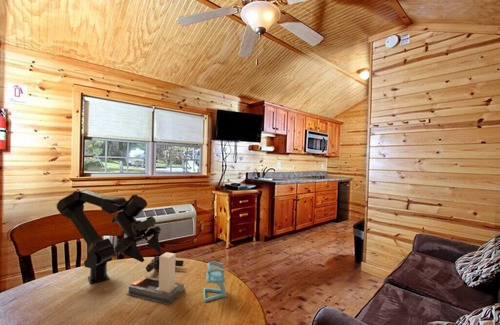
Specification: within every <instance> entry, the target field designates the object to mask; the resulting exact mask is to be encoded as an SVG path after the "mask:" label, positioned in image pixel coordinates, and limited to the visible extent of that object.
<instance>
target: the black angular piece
mask: <svg viewBox="0 0 500 325" xmlns="http://www.w3.org/2000/svg"><path fill="white" fill-rule="evenodd" d="M167 252H168V253H171V252H170V251H167ZM175 267H184V260H176V259H175ZM155 268H159V255H154V256H153V259H151V262H149V263H148V264H147V265H146V267H145V270H146V272H147V273H150V272H152V271H153V270H154V269H155Z"/></svg>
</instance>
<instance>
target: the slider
mask: <svg viewBox="0 0 500 325" xmlns="http://www.w3.org/2000/svg"><path fill="white" fill-rule="evenodd" d="M168 252H169V251H167V252H164V253H162V254H161V255H160V256H159V255H158V256H159V267H158V279H159V287H158V288H157V289H155V290H156V291H160V292H164V293H169V294H170V293H171V292H172V291H173V290H174V289H176V288H177V287H178V285H175V283H176V266H175V260H176V255H177V254H176V253H173V252H170V253H168Z"/></svg>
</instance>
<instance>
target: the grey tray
mask: <svg viewBox="0 0 500 325" xmlns="http://www.w3.org/2000/svg"><path fill="white" fill-rule="evenodd" d="M175 285H178V287H177V288H176V289H174V290H173V291H172V292H171V293H170V294H169V293H164V292H160V291H156V290H155V289H157V288H158V287H159V278H156V277H152V276H147V275H144V276H141V277H140V278H138V279H137V280H135V281H133V282H132V283H131V284H130V285H129V286H128V291H127V292H126V295H128V296H132V297H136V298H140V299H143V300H147V301H151V302H155V303H159V304H164V305H166V306H167V305H168V306H169V305H170V304H172V302H174V301H175V300H176V299H177V298H178V297H179V296H180V295H181V294H182V293H183V292H185V290H186V288H185V284H184V283H178V282H175Z"/></svg>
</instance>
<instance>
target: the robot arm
mask: <svg viewBox="0 0 500 325" xmlns="http://www.w3.org/2000/svg"><path fill="white" fill-rule="evenodd" d="M86 203H88V204H90V205H94V206H97V207H99V208H100V209H101V211H103V212H105V213H106V214H108V215H113V214H114V215H113V216H112V220H111V224H115V223H117V224H118V225H119V227H120V228H121V229H122V231H121V234H122V235H126V237H124V238H121V239H120V241H119V242H118V243H117V244H116V245H114V244H113V243H112V241H111V240H110V239H109V238H108V237H107V238H105V239H103V238H102V237H101V236H100V235H99V233H98V232H97V230H96V229H95V227H94V226H93V224H92V223H91V221H90V220H89V219H88V217H87V216H86V214H85V212H84V208H85V205H84V204H86ZM147 206H148V202H147V200H146V199H145V198H144V197H141V196H138V194H132V195H131V196H130V198H128V200H126V198H125V197H123V196H107V195H104V194H100V193H97V192H94V191H91V190H89V189H85V188H84V189H77V190H75V191H73V192H72V193H71V194H68V195H67V196H65V197H63V198H62V199H60V200H58V202H57V203H56V210H57V211H58V212H59V213H60V214H61V215H62V216H63V217H64V218H67V219H70V221H71V222H72V224H73V225H74V227H75V228H76V230H77V231H78V233H79V234H80V236H81V237H82V238H83V240H84V242H85V243H86V245H87V246H88V247H87V255H88V257H87V258H86V259H85V260H84V261H83V264H84V268H88V269H89V271H90V272H89V276H87V279H88V281H89V284H90V285H92V284H96V283H100V282H103V281H107V280H109V279H110V276H109V275H108V274H107V273H108V272H107V270H108V268H107V267H108V265H107V264H108V263H109V262H111V261H112V260H113V257H114V256H115V253H116V254H117V255H120V254H121V255H124V256H127V257H130V258H132V259H134V260H136V261H139V262H140V263H144V262H145V259H144V257H143V255H142V254H141V252H140V250H139V248H138V246H137V245H138V244H137V243H139V242H140V241H144V240H145V241H146V243H147V244H148V245H149V246H150V247H151V248H152V249H154V250H155V251H156V252H157V253H158V254H160V253H161V252H162V249H161V245H160V242H159V235H161V234H160V233H161V231H162V229H161V228H160V226H158V225H156V226H155V224H156V222H157V219H156V218H155V217H154V216H153V215H150V216H148V217H146V220H143V221H142V220H140V219H139V220H137V219H136V218H135V217H138V216H140V214H141V213H142V212H143V210H145V209H146V208H147ZM116 213H117V214H116Z"/></svg>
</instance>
